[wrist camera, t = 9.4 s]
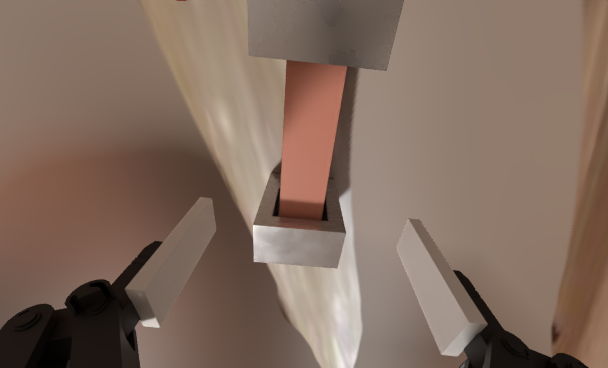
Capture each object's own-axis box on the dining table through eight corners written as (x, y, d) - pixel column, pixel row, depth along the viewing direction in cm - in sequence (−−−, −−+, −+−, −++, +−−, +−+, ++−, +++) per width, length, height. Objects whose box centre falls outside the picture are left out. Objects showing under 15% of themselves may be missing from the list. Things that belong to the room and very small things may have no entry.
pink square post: (292, 34, 17) (288, 27, 13) (343, 40, 17) (352, 34, 14) (282, 218, 26) (277, 242, 22) (315, 221, 26) (316, 245, 22)
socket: (270, 172, 27) (253, 225, 19) (334, 178, 28) (345, 233, 19) (270, 202, 30) (254, 261, 21) (328, 207, 30) (337, 268, 21)
